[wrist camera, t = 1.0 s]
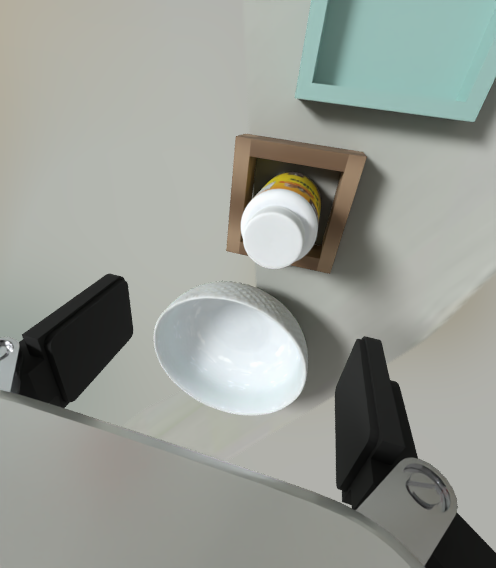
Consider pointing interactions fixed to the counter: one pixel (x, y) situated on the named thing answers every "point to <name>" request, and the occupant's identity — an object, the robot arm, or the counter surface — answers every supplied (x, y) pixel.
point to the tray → (400, 55)
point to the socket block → (303, 155)
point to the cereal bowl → (233, 348)
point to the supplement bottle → (282, 221)
